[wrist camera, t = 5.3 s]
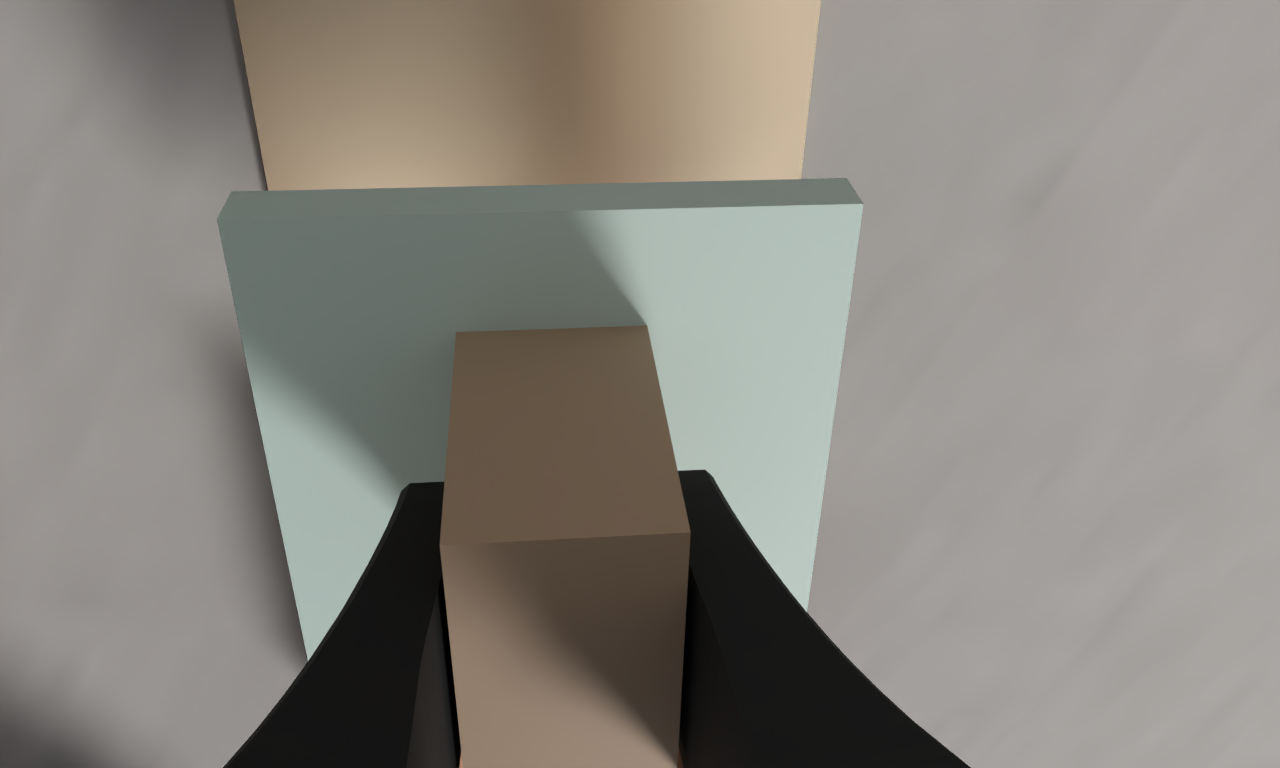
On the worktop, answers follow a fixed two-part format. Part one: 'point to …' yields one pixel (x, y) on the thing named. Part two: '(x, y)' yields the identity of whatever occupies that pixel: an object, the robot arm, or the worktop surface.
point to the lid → (546, 418)
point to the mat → (527, 90)
